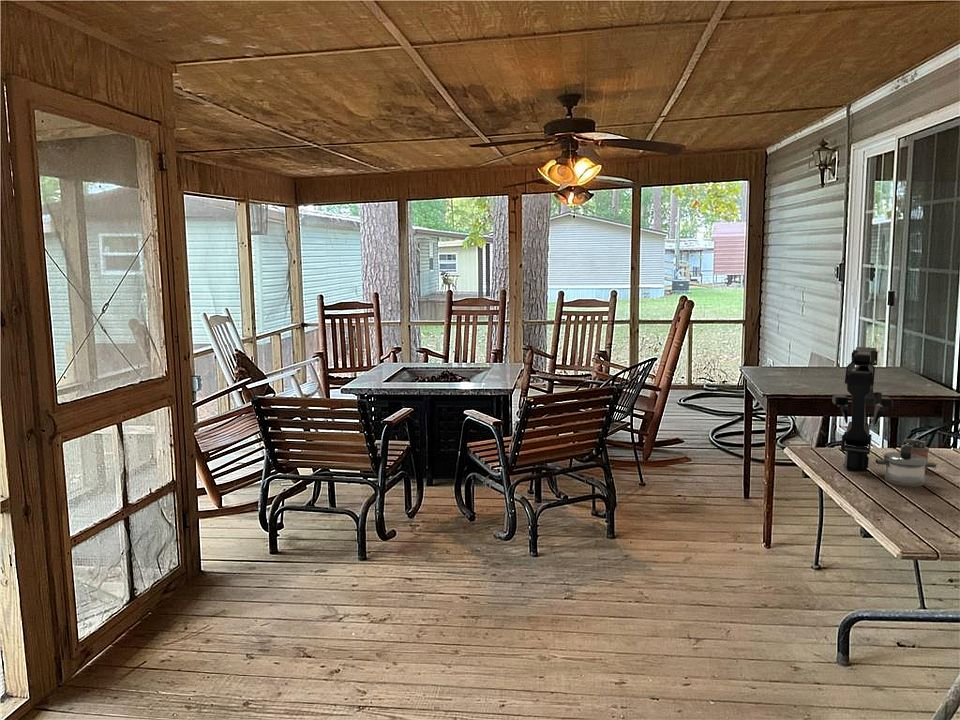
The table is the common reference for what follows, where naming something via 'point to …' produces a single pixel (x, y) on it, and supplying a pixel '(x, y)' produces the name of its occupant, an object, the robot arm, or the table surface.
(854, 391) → the robot arm
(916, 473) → the pot
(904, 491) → the table surface
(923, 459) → the lid
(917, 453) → the lighter
